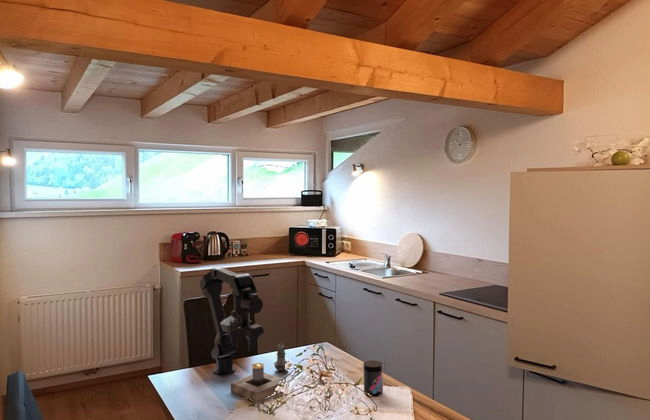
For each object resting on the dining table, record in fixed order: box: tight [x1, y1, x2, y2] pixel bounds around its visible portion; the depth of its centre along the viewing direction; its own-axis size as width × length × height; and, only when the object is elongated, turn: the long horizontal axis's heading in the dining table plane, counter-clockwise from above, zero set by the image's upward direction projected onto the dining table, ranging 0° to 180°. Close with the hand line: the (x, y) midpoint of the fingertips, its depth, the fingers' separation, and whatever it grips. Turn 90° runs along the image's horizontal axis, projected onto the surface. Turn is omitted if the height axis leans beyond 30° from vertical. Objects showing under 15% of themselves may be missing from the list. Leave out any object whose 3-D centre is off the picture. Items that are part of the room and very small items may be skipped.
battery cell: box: [251, 362, 265, 387], centre depth 171 cm, size 4×4×9 cm
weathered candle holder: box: [273, 342, 289, 376], centre depth 189 cm, size 6×6×12 cm
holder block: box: [230, 372, 283, 403], centre depth 171 cm, size 14×14×4 cm
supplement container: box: [363, 359, 384, 397], centre depth 168 cm, size 7×7×10 cm
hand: (242, 349), depth 179 cm, fingers open, 9 cm apart
